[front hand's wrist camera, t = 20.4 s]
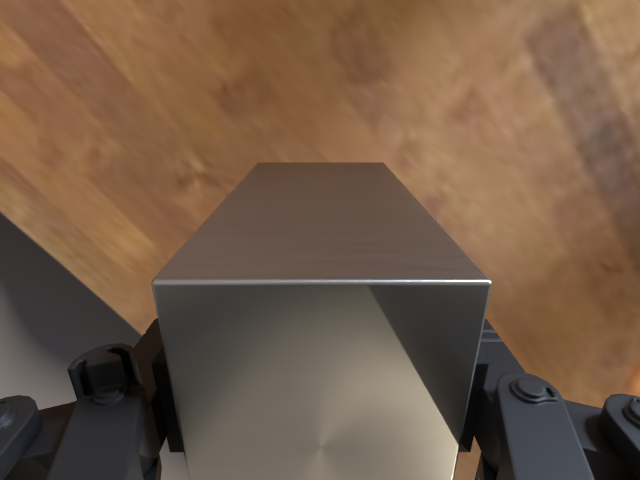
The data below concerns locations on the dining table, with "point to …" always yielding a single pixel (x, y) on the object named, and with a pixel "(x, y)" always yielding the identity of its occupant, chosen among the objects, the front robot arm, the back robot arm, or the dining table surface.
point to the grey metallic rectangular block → (321, 330)
